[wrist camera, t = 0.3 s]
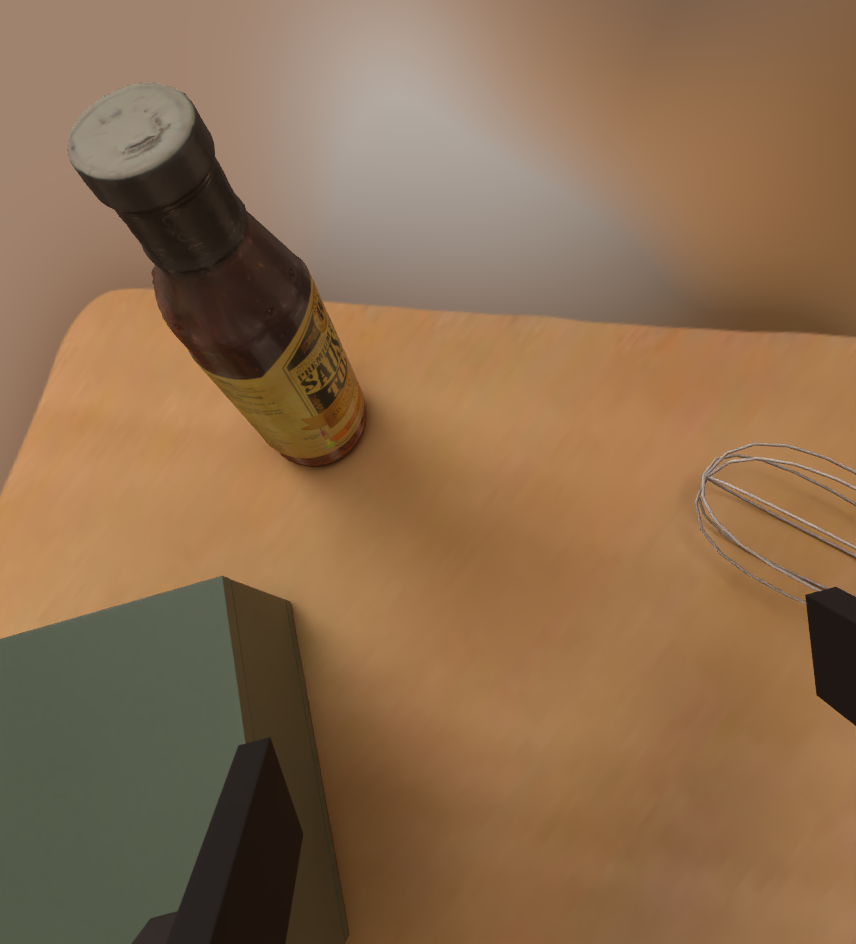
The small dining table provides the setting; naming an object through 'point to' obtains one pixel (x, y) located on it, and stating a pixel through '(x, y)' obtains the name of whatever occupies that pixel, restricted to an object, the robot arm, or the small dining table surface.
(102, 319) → the small dining table surface
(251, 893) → the robot arm
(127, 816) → the cabinet
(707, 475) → the kitchen whisk
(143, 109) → the sauce bottle
